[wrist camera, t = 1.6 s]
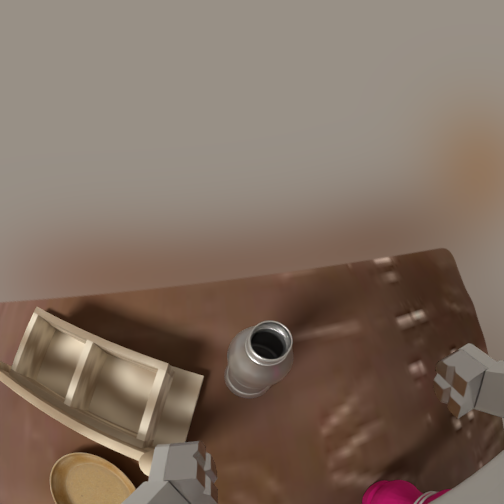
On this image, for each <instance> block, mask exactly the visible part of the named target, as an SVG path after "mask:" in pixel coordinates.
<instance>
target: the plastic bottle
mask: <svg viewBox="0 0 504 504" xmlns="http://www.w3.org/2000/svg"><path fill="white" fill-rule="evenodd" d="M292 343H293V339H292V335H291V332H290V331H289V329H288V328H287V327H286V326H285V325H283V324H282V323H280V322H277V321H264V322H261V323H259V324H257V325H256V326H253V327H249V328H247V329H245V330H243V331H241V332H240V333H238V334H237V335H236V336H235V337H234V338H233V340H232V341H231V343H230V345H229V348H228V354H227V359H228V365H227V367H226V370H225V375H224V377H225V382H226V385H227V387H228V388H229V390H230V391H231V392H232V393H234V394H235V395H237V396H239V397H243V398H255V397H258V396H261V395H262V394H264V393H265V392H266V391H267V390H268V389H269V388H270V386H271V385H273V384H275V383H277V382H279V381H281V380H282V379H283V378H284V377H285V376H286V375H287V374H288V372H289V371H290V369H291V367H292V363H293V350H292Z"/></svg>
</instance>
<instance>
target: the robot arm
mask: <svg viewBox="0 0 504 504" xmlns="http://www.w3.org/2000/svg"><path fill="white" fill-rule="evenodd" d="M435 371H436V372H437V373H438V374H437V376H436V377H435V379H434V384H433V388H434V392H435V395H436V396H437V398H438V399H439V400H440V401H441V402H444V403H448V410H449V411H450V412H451V413H452V414H453V415H454V416H455V417H456V418H457V419H458V418H460V417H462V416H463V415H465V414H466V413H468V412H469V411H471V410H472V409H474V408H475V409H476V410H479V411H482V412H486V413H489V414H492V415H495V416H499V417H502V418H504V361H502V360H499V361H498V362H497V361H495V360H494V359H492V358H491V357H490V356H488V355H487V354H485V353H484V352H483V351H481V350H480V349H478V348H477V347H475V346H474V345H473V344H469V343H468V344H466V345H465V346H463V347H462V348H460V349H458V350H456V351H455V352H453V353H451V354H450V355H448V356H446V357H445V358H443V359H441V360H440V361H438V362H437V364H436V368H435ZM216 480H217V470H216V465H215V462H214V460H213V458H212V456H211V455H210V454H208V453H206V446H205V445H204V443H203V442H202V441H193V442H183V443H171V444H158V445H157V446H156V447H155V449H154V454H153V459H152V464H151V469H150V474H149V479H148V481H146V482H143V483H142V484H141V485H140V486H139V487H138V488H137V489H136V490H135V491H134V492H133V493H132V494H131V495H130V496H129V497H128V498H127V499H126V500H124V501H123V502H122V503H121V504H218V489H217V487H216V486H215V485H214V482H215V481H216ZM428 504H504V450H503V451H502V452H500V453H499V454H498V455H497V456H496V457H495V458H493V459H492V460H491V461H490V462H488V463H487V464H486V465H485V466H483V467H482V468H481V469H479V470H478V471H477V472H475V473H474V474H473V475H471V476H470V477H469V478H467V479H466V480H464V481H463V482H462V483H460V484H459V485H457V486H456V487H454V488H453V489H451V490H449V491H448V492H446V493H445V494H443V495H442V496H440V497H438V498H437V499H435V500H433V501H431V502H430V503H428Z"/></svg>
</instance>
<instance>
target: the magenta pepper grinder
mask: <svg viewBox="0 0 504 504" xmlns="http://www.w3.org/2000/svg"><path fill="white" fill-rule="evenodd" d="M449 490H451V489H446V490H442V491H440V492H435V491H429V492H426V493H421V492H420V491H419V490H418V489H417V488H416V487H415V486H414V485H413V484H411V483H410V482H407V481H404V480H394V481H386V480H383V481H379V482H376V483H374V484H373V485H371V486H370V487H369V488H368V489H367V491H366V492H365V494H364V496H363V499H362V504H428V503H430V502H431V501H433V500H435V499H437V498H438V497H440V496H442V495H443V494H445V493H446V492H448V491H449Z"/></svg>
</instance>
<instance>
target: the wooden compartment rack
mask: <svg viewBox="0 0 504 504" xmlns="http://www.w3.org/2000/svg"><path fill="white" fill-rule="evenodd" d="M203 380H204V376H202V375H199V374H196V373H192V372H189V371H186V370H183V369H180V368H176V367H173V366H170V365H169V364H168V363H165V362H163V361H160V360H157V359H154V358H151V357H148V356H146V355H143V354H140V353H138V352H135V351H132V350H130V349H127V348H125V347H122V346H120V345H117V344H115V343H112V342H110V341H107V340H105V339H103V338H100V337H98V336H96V335H93V334H91V333H89V332H87V331H85V330H82V329H80V328H78V327H76V326H74V325H72V324H70V323H68V322H65V321H63V320H61V319H59V318H57V317H55V316H53V315H51V314H50V313H48V312H46V311H44V310H42V309H40V308H38V307H36V309H35V311H34V313H33V315H32V318H31V320H30V322H29V324H28V327H27V329H26V331H25V334H24V336H23V338H22V341H21V343H20V346H19V348H18V351H17V353H16V356H15V359H14V362H13V364H12V366H9V365H7V364H5V363H3V362H1V361H0V381H2V382H3V383H4V384H6V385H7V386H8V387H9V388H11V389H12V390H13V391H15V392H16V393H17V394H19V395H20V396H21V397H23V398H24V399H26V400H27V401H28V402H30V403H31V404H33V405H34V406H36V407H37V408H39V409H40V410H42V411H43V412H45V413H46V414H48V415H49V416H51V417H52V418H54V419H56V420H57V421H59V422H61V423H62V424H64V425H66V426H67V427H69V428H71V429H73V430H75V431H76V432H78V433H80V434H82V435H84V436H86V437H88V438H89V439H91V440H93V441H95V442H97V443H99V444H101V445H104V446H106V447H108V448H110V449H112V450H114V451H116V452H119V453H121V454H123V455H126V456H128V457H130V458H133V459H135V460H138V461H139V466H140V469H141V470H142V472H143V473H144V474H146V475H147V476H149V474H150V469H151V464H152V459H153V454H154V449H155V447H156V446H157V445H158V444H171V443H183V442H186V438H187V435H188V431H189V428H190V424H191V421H192V417H193V414H194V410H195V407H196V404H197V400H198V397H199V393H200V390H201V386H202V383H203Z"/></svg>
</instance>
